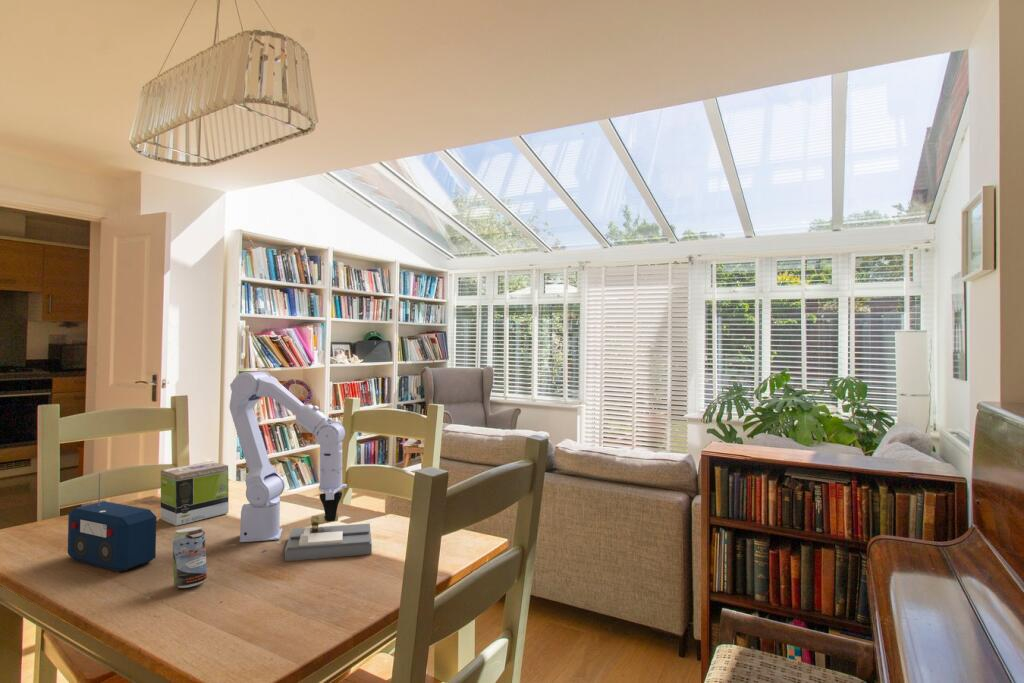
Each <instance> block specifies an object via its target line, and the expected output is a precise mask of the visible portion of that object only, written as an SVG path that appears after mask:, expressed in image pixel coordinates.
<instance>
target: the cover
mask: <svg viewBox="0 0 1024 683" xmlns="http://www.w3.org/2000/svg"><path fill="white" fill-rule="evenodd" d="M304 528H305V530H304V534H301V537H300V541H299V546H310V545H323V544H337V543H342V538H343V531H338V532H324V533H310V528H311V527H304Z"/></svg>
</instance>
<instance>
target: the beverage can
mask: <svg viewBox="0 0 1024 683" xmlns="http://www.w3.org/2000/svg"><path fill="white" fill-rule="evenodd" d="M206 545H207V544H206V532H205V531H204V529H203V526H200V525H199V526H190V527H185V528H181V529H177V530H175V534H174V535H173V536H172V560H173V562H172V563H173V568H172V569H173V585H174V586H176V587H177V588H180V589H187V588H191V587H196V586H198V585H201V584H202V583H203V582H204V581H205V580H206V579H207V576H208V575H207V573H208V572H207V551H206V550H207V547H206Z"/></svg>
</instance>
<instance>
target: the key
mask: <svg viewBox="0 0 1024 683" xmlns="http://www.w3.org/2000/svg"><path fill="white" fill-rule="evenodd" d="M310 521H311V522H310V524H311V527H312V531H318V527H319V525H324V524H328V523H329V524H330V523H333V522H335V523H336V522H339V513H338V512H337V513H336V518H335V521H328V522H327V521H326V517H325V513H323V514H317V515H311V517H310Z"/></svg>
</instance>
